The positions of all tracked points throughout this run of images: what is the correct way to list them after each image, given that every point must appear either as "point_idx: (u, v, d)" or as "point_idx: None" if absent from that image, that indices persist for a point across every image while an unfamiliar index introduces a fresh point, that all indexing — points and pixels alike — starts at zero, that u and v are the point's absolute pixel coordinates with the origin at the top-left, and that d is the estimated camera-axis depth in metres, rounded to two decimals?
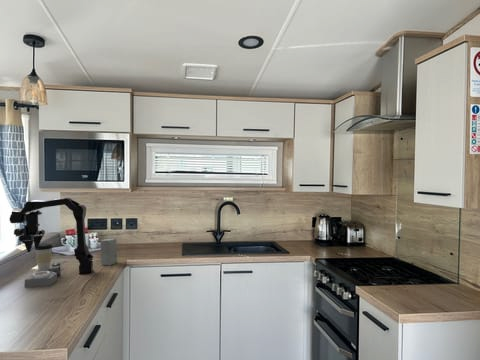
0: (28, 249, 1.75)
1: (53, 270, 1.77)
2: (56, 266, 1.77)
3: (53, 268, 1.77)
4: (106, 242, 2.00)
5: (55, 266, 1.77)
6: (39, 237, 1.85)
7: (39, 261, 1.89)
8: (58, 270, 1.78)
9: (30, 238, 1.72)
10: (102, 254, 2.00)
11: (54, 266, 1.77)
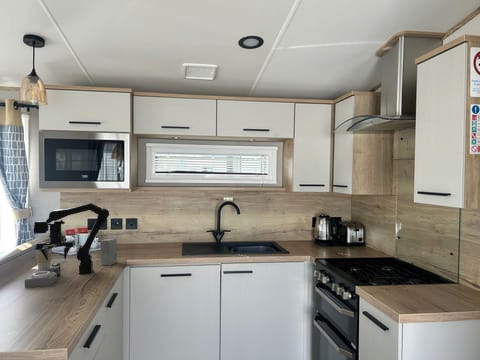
0: None
1: (53, 270, 1.77)
2: (56, 266, 1.77)
3: (53, 268, 1.77)
4: (106, 242, 2.00)
5: (55, 266, 1.77)
6: None
7: (39, 261, 1.89)
8: (58, 270, 1.78)
9: (36, 247, 1.75)
10: (102, 254, 2.00)
11: (54, 266, 1.77)
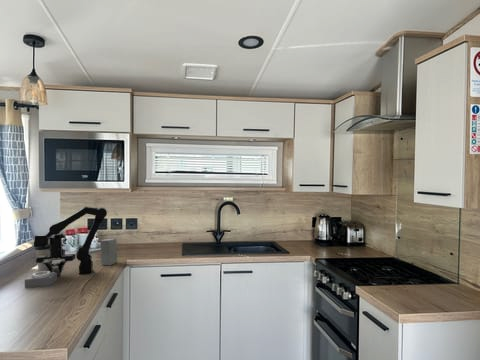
0: None
1: (53, 270, 1.77)
2: (56, 266, 1.77)
3: (53, 268, 1.77)
4: (106, 242, 2.00)
5: (55, 266, 1.77)
6: None
7: None
8: (58, 270, 1.78)
9: (36, 261, 1.75)
10: (102, 254, 2.00)
11: (54, 266, 1.77)
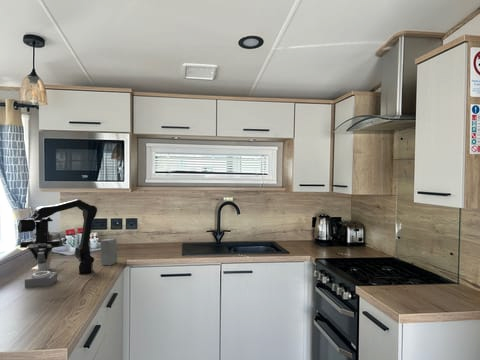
0: None
1: (38, 256, 1.66)
2: (42, 252, 1.66)
3: (38, 254, 1.66)
4: (106, 242, 2.00)
5: (41, 252, 1.66)
6: None
7: None
8: (44, 256, 1.67)
9: (20, 245, 1.64)
10: (102, 254, 2.00)
11: (39, 252, 1.66)
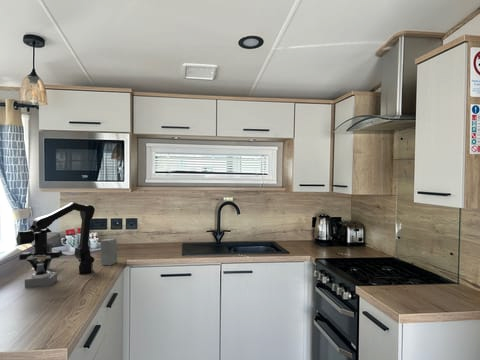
0: None
1: (38, 268, 1.65)
2: (41, 263, 1.65)
3: (38, 265, 1.65)
4: (106, 242, 2.00)
5: (40, 263, 1.65)
6: None
7: None
8: (43, 268, 1.66)
9: (19, 257, 1.62)
10: (102, 254, 2.00)
11: (39, 263, 1.65)
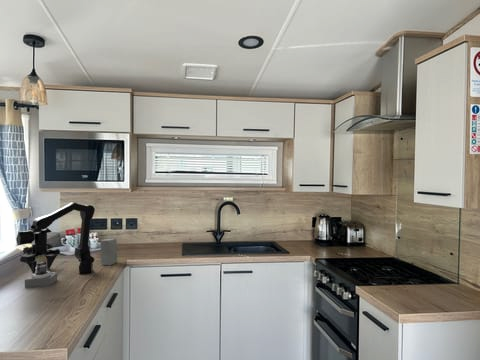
0: (32, 271, 1.62)
1: (42, 269, 1.66)
2: (45, 264, 1.67)
3: (43, 267, 1.66)
4: (106, 242, 2.00)
5: (45, 264, 1.67)
6: (51, 257, 1.71)
7: (39, 261, 1.89)
8: None
9: (28, 260, 1.57)
10: (102, 254, 2.00)
11: (44, 264, 1.66)
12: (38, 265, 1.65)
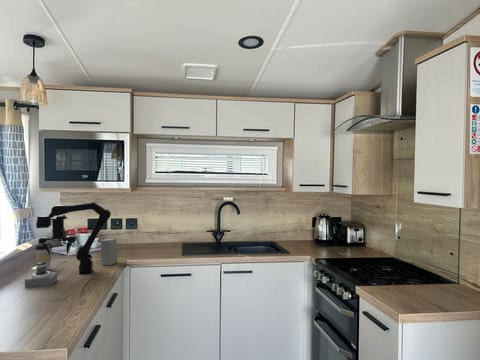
0: None
1: (42, 269, 1.66)
2: (45, 264, 1.67)
3: (43, 267, 1.66)
4: (106, 242, 2.00)
5: (45, 264, 1.67)
6: None
7: (39, 261, 1.89)
8: None
9: (38, 241, 1.76)
10: (102, 254, 2.00)
11: (44, 264, 1.66)
12: (38, 265, 1.65)
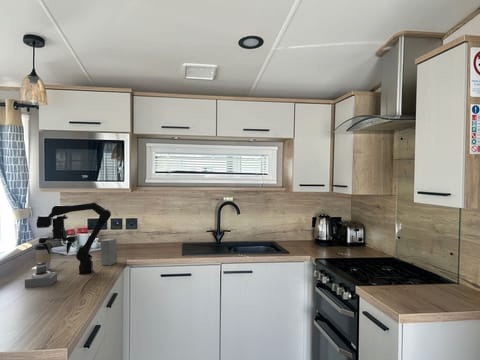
0: None
1: (42, 269, 1.66)
2: (45, 264, 1.67)
3: (43, 267, 1.66)
4: (106, 242, 2.00)
5: (45, 264, 1.67)
6: None
7: (39, 261, 1.89)
8: None
9: (39, 241, 1.76)
10: (102, 254, 2.00)
11: (44, 264, 1.66)
12: (38, 265, 1.65)
